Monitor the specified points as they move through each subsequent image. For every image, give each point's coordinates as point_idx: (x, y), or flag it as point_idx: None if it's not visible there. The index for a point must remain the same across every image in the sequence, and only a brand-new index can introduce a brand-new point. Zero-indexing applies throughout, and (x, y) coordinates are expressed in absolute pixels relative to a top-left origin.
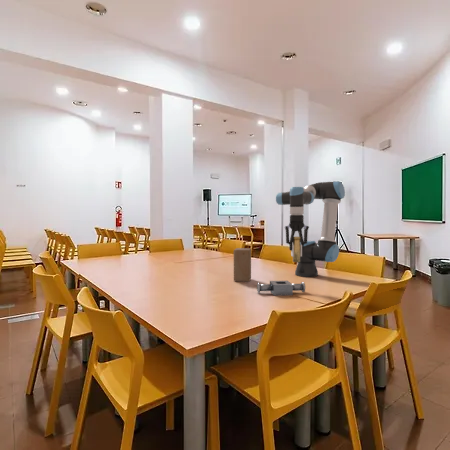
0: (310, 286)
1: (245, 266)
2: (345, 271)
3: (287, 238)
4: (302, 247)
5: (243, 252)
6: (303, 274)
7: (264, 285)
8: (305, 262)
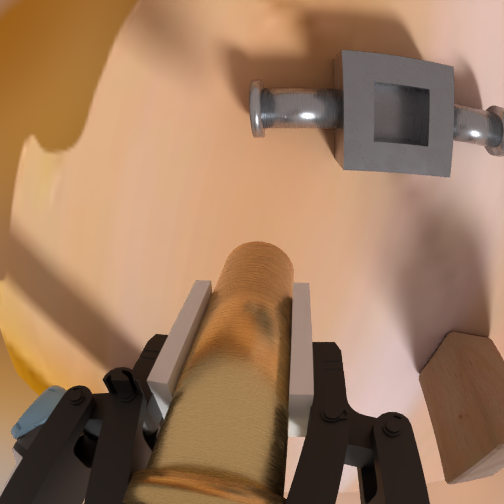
0: (189, 234)
1: (485, 378)
2: None
3: (419, 493)
4: (153, 361)
5: None
6: None
7: (483, 116)
8: None
